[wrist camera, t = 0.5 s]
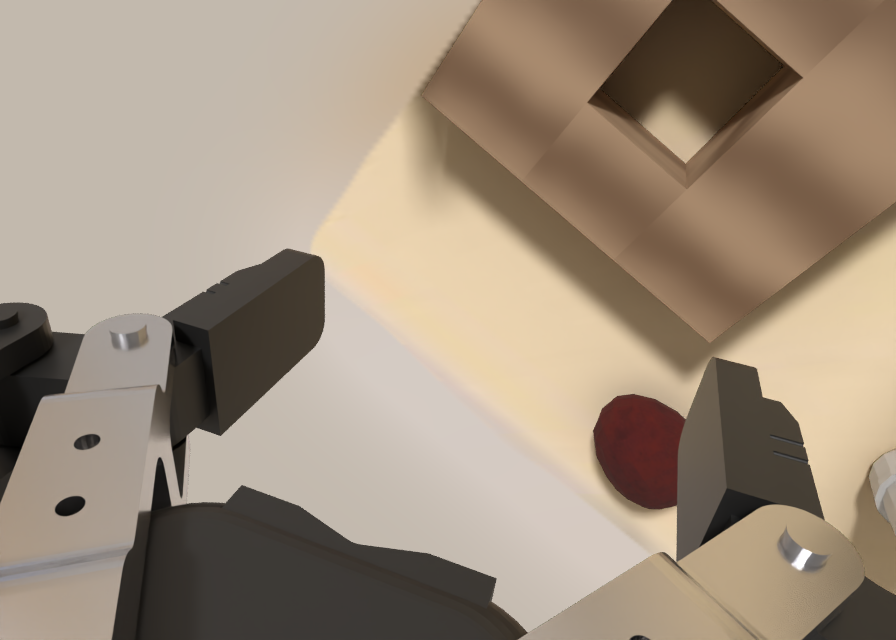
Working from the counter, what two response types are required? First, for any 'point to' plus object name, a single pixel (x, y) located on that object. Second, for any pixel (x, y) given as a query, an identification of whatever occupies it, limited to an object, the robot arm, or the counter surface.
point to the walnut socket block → (714, 166)
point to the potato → (640, 449)
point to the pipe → (885, 486)
